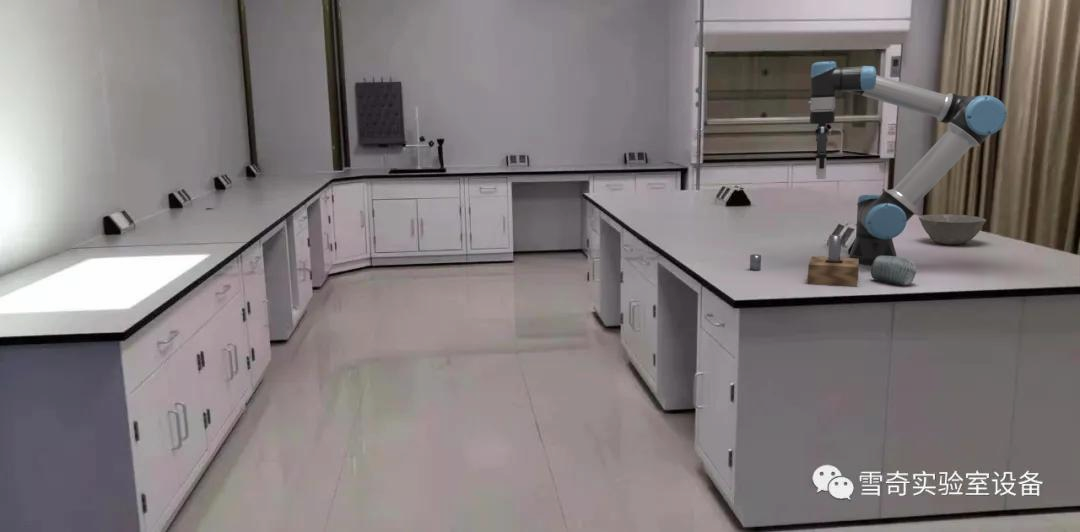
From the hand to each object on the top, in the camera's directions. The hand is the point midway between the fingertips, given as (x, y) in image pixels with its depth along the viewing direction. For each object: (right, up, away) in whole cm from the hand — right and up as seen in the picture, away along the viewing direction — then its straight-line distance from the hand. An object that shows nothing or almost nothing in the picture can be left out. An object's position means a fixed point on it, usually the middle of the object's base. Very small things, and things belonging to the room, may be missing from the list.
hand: (820, 177), depth 267 cm
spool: (+15, -34, -19) cm, 42 cm away
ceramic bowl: (+65, -21, +45) cm, 82 cm away
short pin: (-20, -30, +4) cm, 37 cm away
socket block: (-1, -34, -14) cm, 36 cm away
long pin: (-1, -34, -14) cm, 36 cm away
